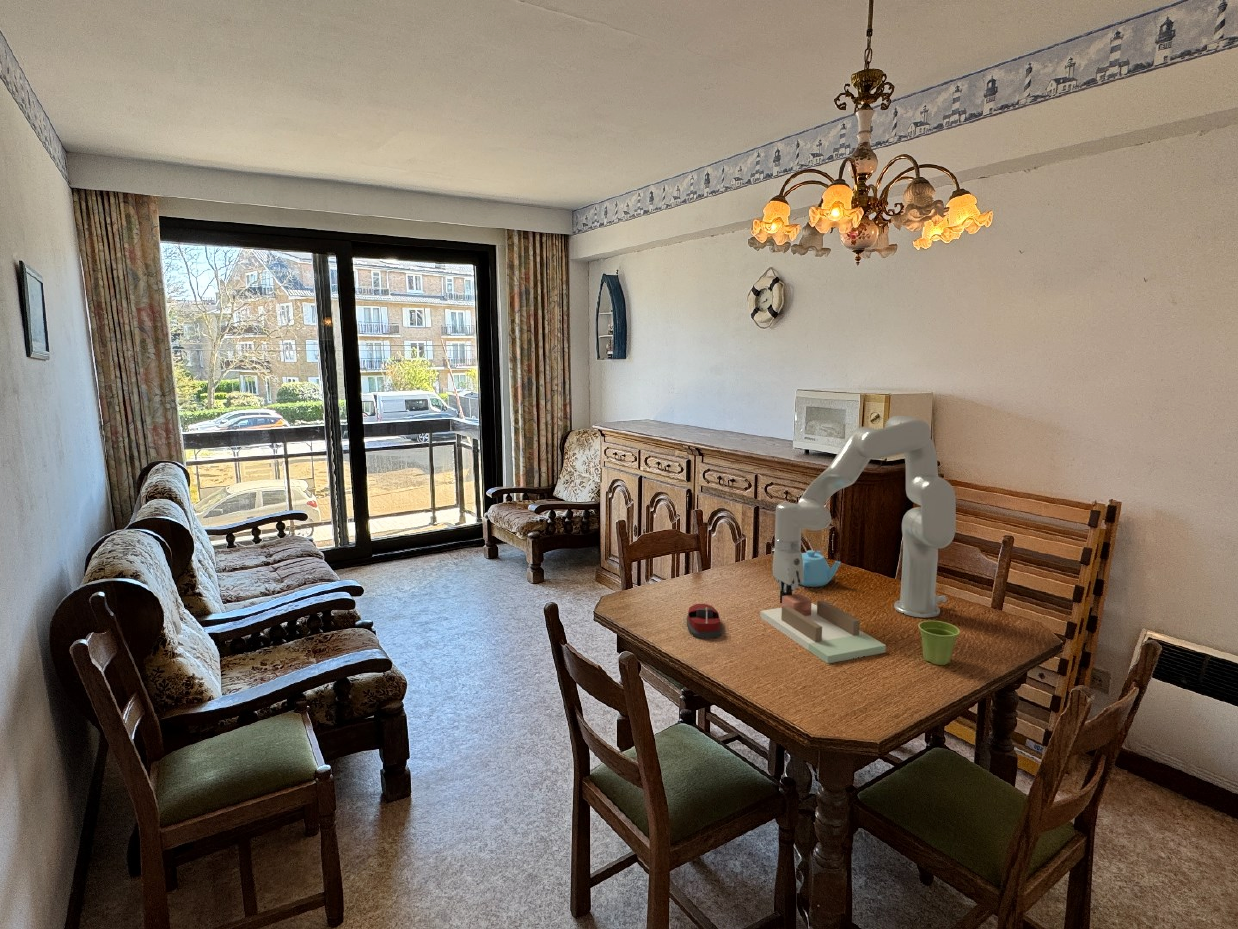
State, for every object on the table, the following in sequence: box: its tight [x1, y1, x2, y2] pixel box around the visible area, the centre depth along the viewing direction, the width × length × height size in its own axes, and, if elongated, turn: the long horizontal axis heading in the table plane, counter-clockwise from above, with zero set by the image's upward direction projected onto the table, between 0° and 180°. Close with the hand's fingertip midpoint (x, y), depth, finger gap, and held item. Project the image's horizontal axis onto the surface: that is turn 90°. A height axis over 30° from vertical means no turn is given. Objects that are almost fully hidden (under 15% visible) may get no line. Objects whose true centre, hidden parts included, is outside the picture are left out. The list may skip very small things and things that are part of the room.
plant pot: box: [917, 620, 961, 666], centre depth 167 cm, size 9×9×9 cm
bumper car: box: [686, 603, 723, 639], centre depth 188 cm, size 10×20×10 cm, turn 179°
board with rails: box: [759, 600, 887, 664], centre depth 183 cm, size 18×32×6 cm, turn 19°
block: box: [781, 593, 813, 616], centre depth 193 cm, size 6×6×4 cm
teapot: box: [798, 549, 842, 588], centre depth 226 cm, size 15×15×11 cm
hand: (785, 603), depth 199 cm, fingers closed
